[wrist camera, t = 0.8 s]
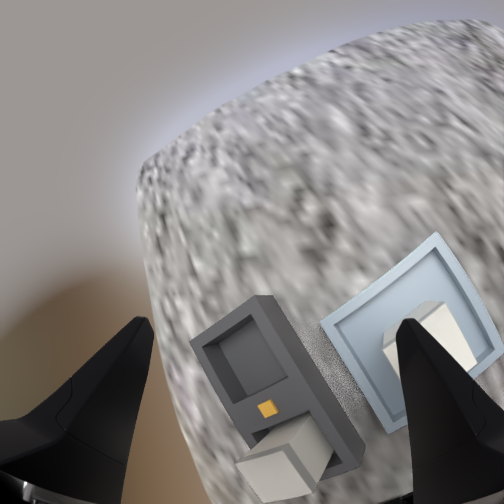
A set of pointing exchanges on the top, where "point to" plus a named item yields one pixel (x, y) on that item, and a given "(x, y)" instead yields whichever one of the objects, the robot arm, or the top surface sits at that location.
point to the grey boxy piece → (276, 402)
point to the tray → (398, 306)
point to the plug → (433, 334)
